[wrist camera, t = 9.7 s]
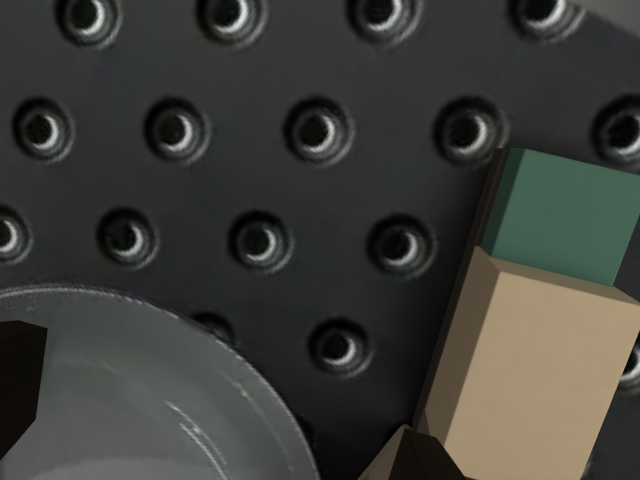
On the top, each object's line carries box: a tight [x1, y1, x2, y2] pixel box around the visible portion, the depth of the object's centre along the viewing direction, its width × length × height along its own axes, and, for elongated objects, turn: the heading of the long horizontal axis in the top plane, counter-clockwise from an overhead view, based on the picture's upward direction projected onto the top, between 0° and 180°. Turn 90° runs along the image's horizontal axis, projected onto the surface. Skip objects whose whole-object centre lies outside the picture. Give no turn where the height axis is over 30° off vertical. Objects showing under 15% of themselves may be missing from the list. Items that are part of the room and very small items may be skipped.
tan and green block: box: [412, 148, 640, 480], centre depth 17 cm, size 11×4×5 cm, turn 167°
